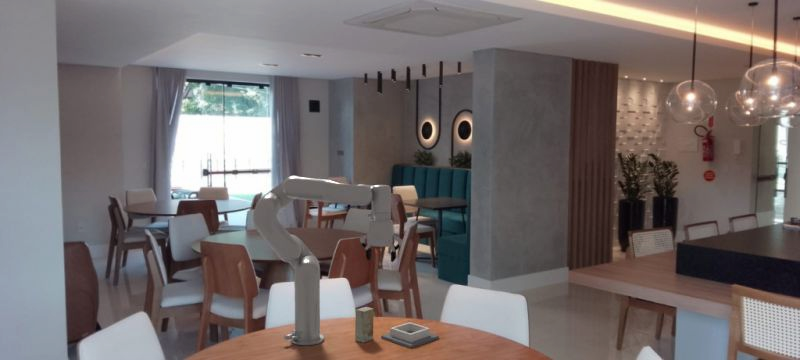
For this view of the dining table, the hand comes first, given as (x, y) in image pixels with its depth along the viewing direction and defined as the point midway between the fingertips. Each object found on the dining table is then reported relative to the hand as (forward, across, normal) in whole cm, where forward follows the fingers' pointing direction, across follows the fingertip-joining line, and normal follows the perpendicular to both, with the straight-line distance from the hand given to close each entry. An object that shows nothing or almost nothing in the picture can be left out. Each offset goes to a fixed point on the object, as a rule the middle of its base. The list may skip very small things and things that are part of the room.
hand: (380, 260), depth 225 cm
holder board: (+30, +11, +2) cm, 33 cm away
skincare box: (+31, -5, -5) cm, 31 cm away
